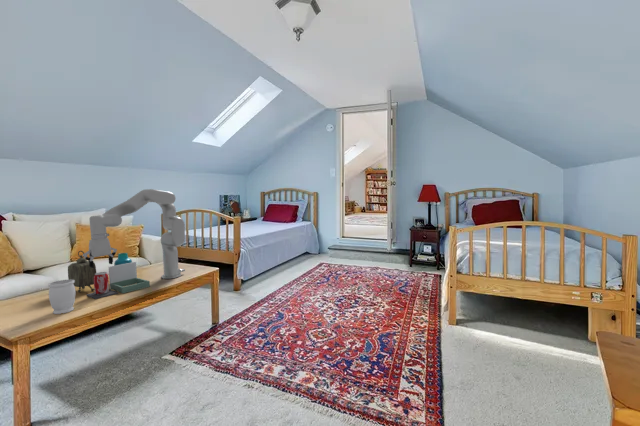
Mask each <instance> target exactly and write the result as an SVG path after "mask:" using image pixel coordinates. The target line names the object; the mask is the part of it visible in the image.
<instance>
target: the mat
mask: <svg viewBox="0 0 640 426" xmlns="http://www.w3.org/2000/svg"><path fill="white" fill-rule="evenodd" d="M118 294H119V292H117V291H114V290H111V289H110V288H109V291H108V292H107V293H106V294H102V295H97V294H95V291H93V292H91V293H87V294H86V295H85V296H87V297H88V298H91V299H94V300H98V299H102V298H106V297H110V296H111V297H112V296H113V295H118Z"/></svg>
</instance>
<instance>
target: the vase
mask: <svg viewBox="0 0 640 426" xmlns="http://www.w3.org/2000/svg"><path fill="white" fill-rule="evenodd" d="M132 262H133V260H132V259H131V258H129V255H128V252H119V253H118V254H117V259H116V260H115V261H114V262H113V263H114V264H113V266H116V265H121V264H126V263H132Z"/></svg>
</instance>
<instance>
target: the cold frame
mask: <svg viewBox="0 0 640 426" xmlns="http://www.w3.org/2000/svg"><path fill="white" fill-rule="evenodd" d="M108 281H109V289H111V290H113V291H116V292H118V293H121V294H125V293H129V292H133V291H137V290H142V289H146V288H149V287H151V284H150V280H147V279H144V278H139V277H138V274H137V261H132V263H126V264H121V265H116V266H114V265H112V266H108Z"/></svg>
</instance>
